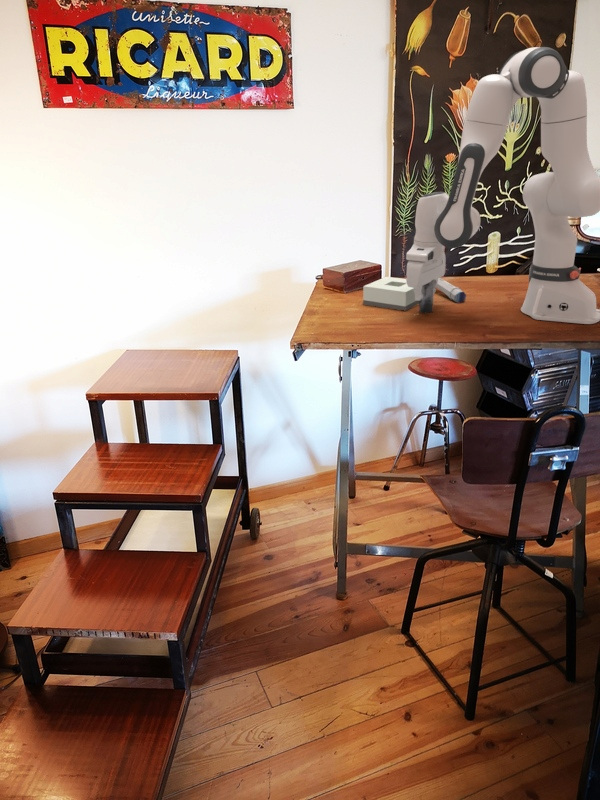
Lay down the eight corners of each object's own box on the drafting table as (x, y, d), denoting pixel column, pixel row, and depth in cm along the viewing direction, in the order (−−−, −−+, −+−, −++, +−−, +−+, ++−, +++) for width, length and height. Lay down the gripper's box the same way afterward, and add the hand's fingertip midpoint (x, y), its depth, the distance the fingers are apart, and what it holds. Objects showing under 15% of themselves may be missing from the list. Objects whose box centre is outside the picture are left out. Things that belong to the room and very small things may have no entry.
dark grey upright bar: (434, 310, 184) (436, 278, 180) (428, 313, 182) (430, 281, 177) (422, 308, 187) (424, 277, 182) (416, 312, 184) (418, 279, 180)
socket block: (426, 299, 196) (427, 281, 193) (405, 311, 185) (405, 292, 182) (385, 294, 204) (386, 276, 202) (363, 304, 193) (363, 286, 191)
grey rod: (454, 292, 189) (418, 266, 209) (451, 311, 193) (416, 284, 213) (469, 290, 191) (431, 264, 211) (465, 310, 194) (429, 282, 214)
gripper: (433, 243, 185) (429, 288, 191) (403, 254, 170) (400, 302, 176) (452, 245, 182) (448, 290, 188) (424, 257, 167) (420, 305, 172)
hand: (425, 296), depth 182 cm, fingers open, 8 cm apart
